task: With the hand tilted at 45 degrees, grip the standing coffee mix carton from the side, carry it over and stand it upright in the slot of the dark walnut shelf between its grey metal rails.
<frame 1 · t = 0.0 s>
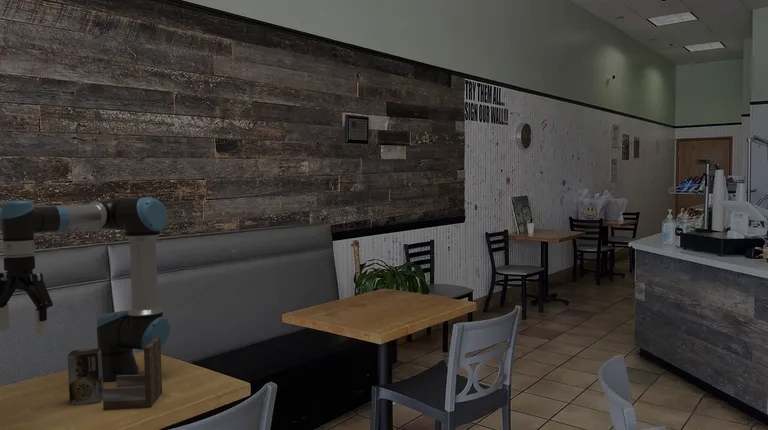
hand: (22, 331, 170), 28 cm above the table, tool pointing down, fingers open, 13 cm apart
walnut shelf slot: (133, 401, 194), on the table
coffee box: (86, 401, 195), on the table
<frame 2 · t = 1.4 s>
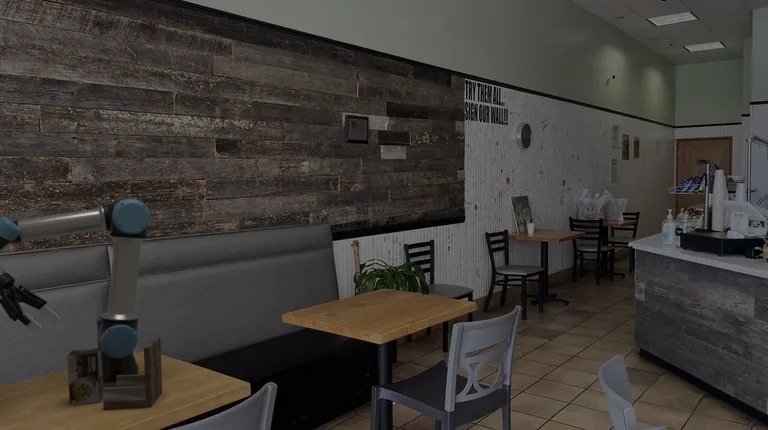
hand: (48, 325, 193), 25 cm above the table, tool tilted 45°, fingers open, 13 cm apart
nothing on the table moved.
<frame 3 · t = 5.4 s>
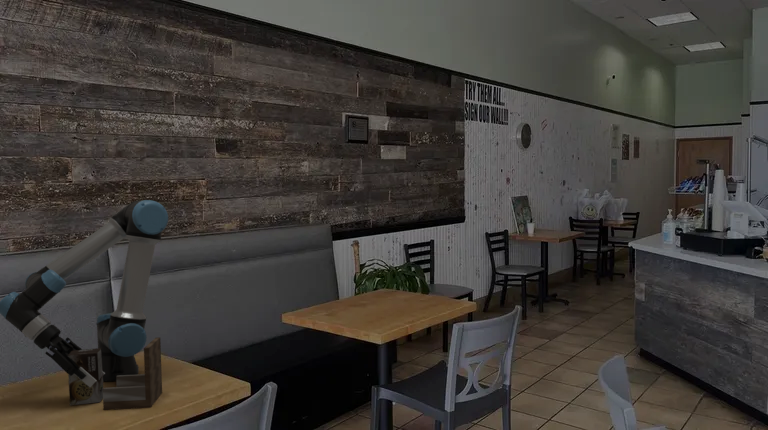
hand: (97, 380, 195), 7 cm above the table, tool tilted 45°, fingers closed on coffee box, 7 cm apart
coffee box: (87, 401, 195), on the table, touching gripper
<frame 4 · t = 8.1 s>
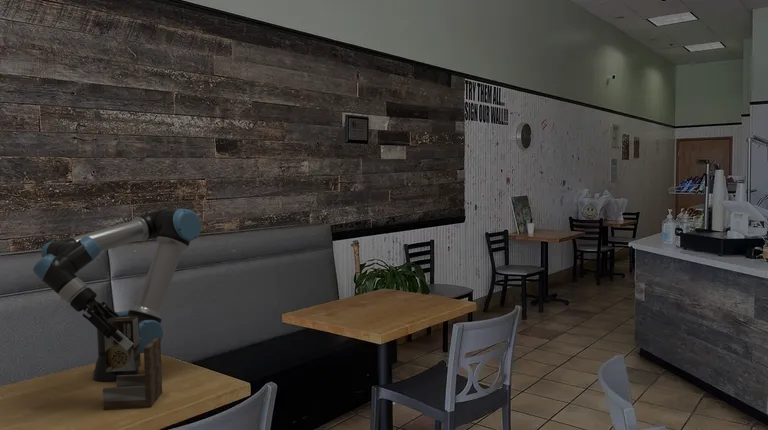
hand: (133, 344, 193), 18 cm above the table, tool tilted 45°, fingers closed on coffee box, 6 cm apart
coffee box: (123, 369, 193), point 10 cm above the table, touching gripper
when the fingers open (10 cm above the table, at t = 10.4 s): coffee box stays where it is, resting on walnut shelf slot.
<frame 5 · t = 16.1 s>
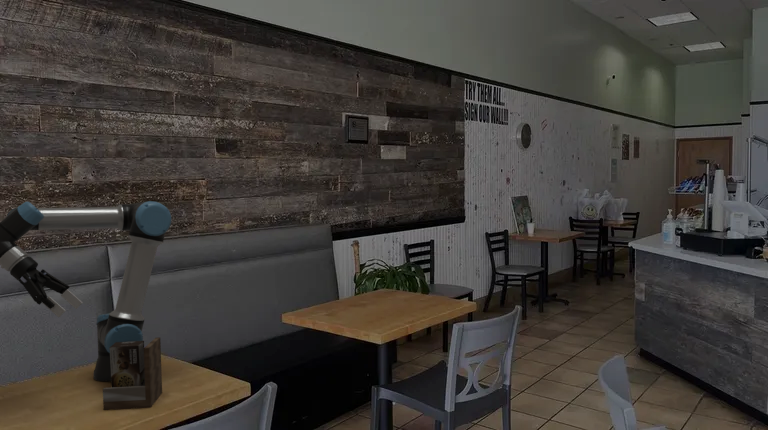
hand: (71, 309, 193), 30 cm above the table, tool tilted 45°, fingers open, 13 cm apart
coffee box: (129, 394, 194), point 2 cm above the table, touching walnut shelf slot
at the end: coffee box inside the target area on the walnut shelf slot (0.1 cm from its centre), point 2.3 cm above the walnut shelf slot's base; coffee box tilted 0°; the gripper is holding nothing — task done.
